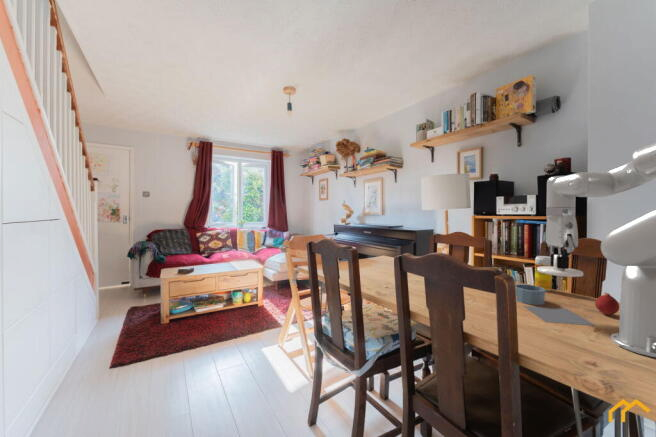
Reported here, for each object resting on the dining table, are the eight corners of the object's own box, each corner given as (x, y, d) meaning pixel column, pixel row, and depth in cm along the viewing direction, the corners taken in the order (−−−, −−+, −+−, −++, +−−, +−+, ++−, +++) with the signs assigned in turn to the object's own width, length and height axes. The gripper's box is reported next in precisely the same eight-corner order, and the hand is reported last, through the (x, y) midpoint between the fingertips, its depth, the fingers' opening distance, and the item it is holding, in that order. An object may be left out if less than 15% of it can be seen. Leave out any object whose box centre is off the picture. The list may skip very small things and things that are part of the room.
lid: (592, 277, 88) (593, 258, 88) (549, 275, 90) (549, 257, 90) (568, 269, 100) (568, 252, 99) (530, 268, 102) (530, 252, 102)
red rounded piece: (608, 312, 99) (609, 290, 99) (623, 319, 93) (625, 295, 93) (590, 312, 99) (591, 290, 99) (604, 318, 94) (605, 295, 93)
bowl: (550, 306, 105) (550, 292, 105) (520, 304, 107) (520, 290, 107) (536, 298, 115) (536, 284, 115) (509, 296, 117) (509, 283, 117)
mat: (596, 327, 87) (596, 325, 87) (545, 323, 90) (545, 321, 90) (566, 309, 102) (566, 308, 102) (523, 306, 105) (523, 305, 105)
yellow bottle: (531, 288, 129) (532, 256, 128) (540, 287, 130) (541, 255, 130) (544, 292, 123) (546, 258, 122) (554, 291, 125) (555, 257, 124)
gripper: (590, 213, 86) (589, 273, 86) (558, 212, 102) (557, 263, 102) (562, 213, 87) (561, 272, 88) (535, 212, 103) (534, 262, 104)
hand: (559, 266), depth 95 cm, fingers closed on lid, 3 cm apart
